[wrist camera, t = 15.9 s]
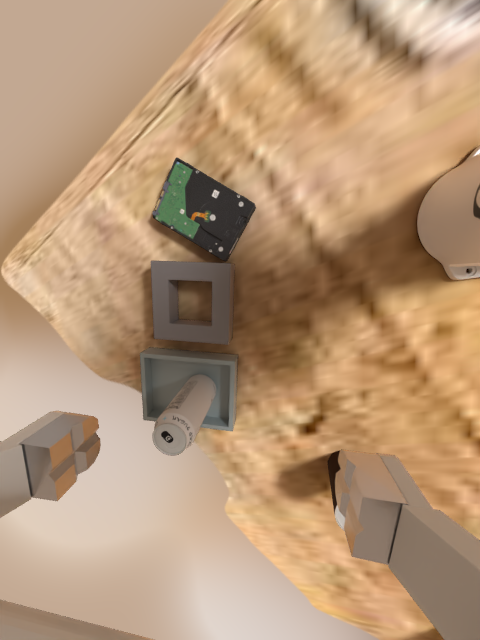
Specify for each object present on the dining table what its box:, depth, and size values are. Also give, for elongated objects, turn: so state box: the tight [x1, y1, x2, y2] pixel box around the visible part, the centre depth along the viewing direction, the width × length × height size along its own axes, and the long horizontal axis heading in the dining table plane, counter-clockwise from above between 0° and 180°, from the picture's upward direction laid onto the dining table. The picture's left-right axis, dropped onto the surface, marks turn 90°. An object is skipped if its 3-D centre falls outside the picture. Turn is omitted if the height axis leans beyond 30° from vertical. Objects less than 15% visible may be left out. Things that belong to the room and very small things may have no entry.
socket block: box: [151, 261, 235, 345], centre depth 41 cm, size 14×14×4 cm
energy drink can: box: [153, 374, 216, 456], centre depth 38 cm, size 6×6×15 cm
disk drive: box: [153, 158, 256, 261], centre depth 39 cm, size 10×3×15 cm
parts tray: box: [140, 347, 238, 431], centre depth 45 cm, size 18×14×4 cm
